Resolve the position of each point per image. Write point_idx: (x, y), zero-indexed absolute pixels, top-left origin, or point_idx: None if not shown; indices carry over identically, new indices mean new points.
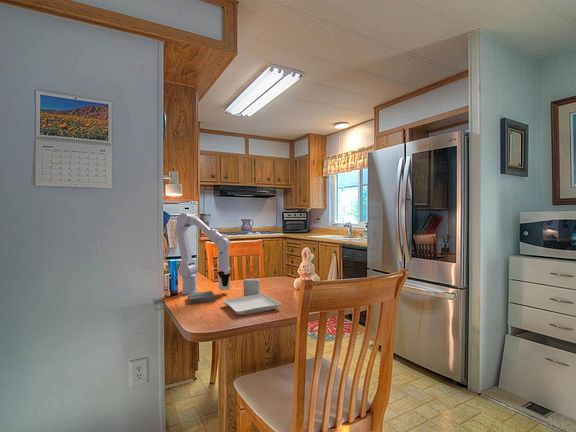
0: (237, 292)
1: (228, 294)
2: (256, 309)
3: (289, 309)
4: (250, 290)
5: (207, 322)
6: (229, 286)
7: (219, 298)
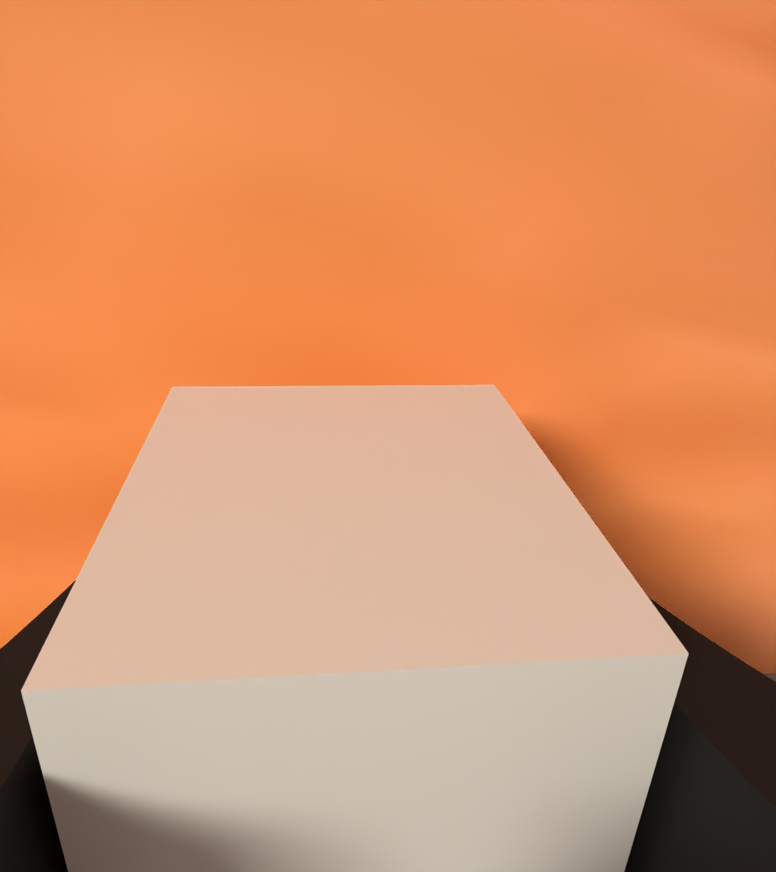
0: (363, 61)
1: (457, 373)
2: None
3: None
4: None
5: None
6: (525, 433)
7: (674, 596)
